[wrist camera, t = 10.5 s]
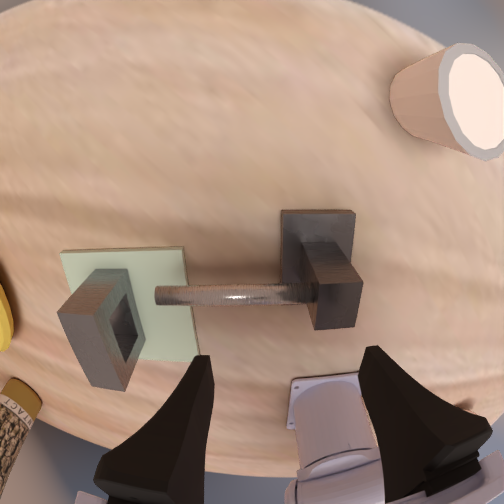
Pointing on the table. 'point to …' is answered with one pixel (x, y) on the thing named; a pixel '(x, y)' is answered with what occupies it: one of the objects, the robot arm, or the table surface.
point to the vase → (5, 322)
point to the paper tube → (15, 423)
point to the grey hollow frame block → (104, 328)
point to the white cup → (453, 100)
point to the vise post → (295, 273)
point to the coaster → (145, 294)
